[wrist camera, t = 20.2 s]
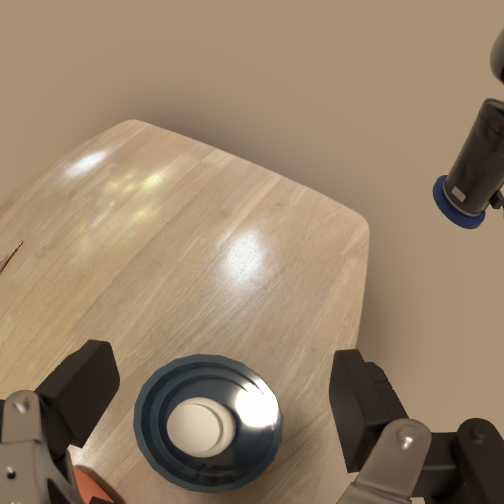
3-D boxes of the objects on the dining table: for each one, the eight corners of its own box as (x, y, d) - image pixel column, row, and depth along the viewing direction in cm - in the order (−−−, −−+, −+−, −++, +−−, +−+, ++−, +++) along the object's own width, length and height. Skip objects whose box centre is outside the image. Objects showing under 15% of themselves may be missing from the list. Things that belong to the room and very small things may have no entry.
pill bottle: (180, 437, 25) (147, 444, 17) (197, 394, 28) (171, 384, 20) (229, 455, 24) (216, 473, 16) (246, 411, 27) (239, 409, 19)
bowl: (278, 365, 30) (282, 355, 26) (277, 482, 23) (280, 495, 18) (157, 360, 31) (140, 348, 26) (151, 471, 24) (131, 479, 19)
